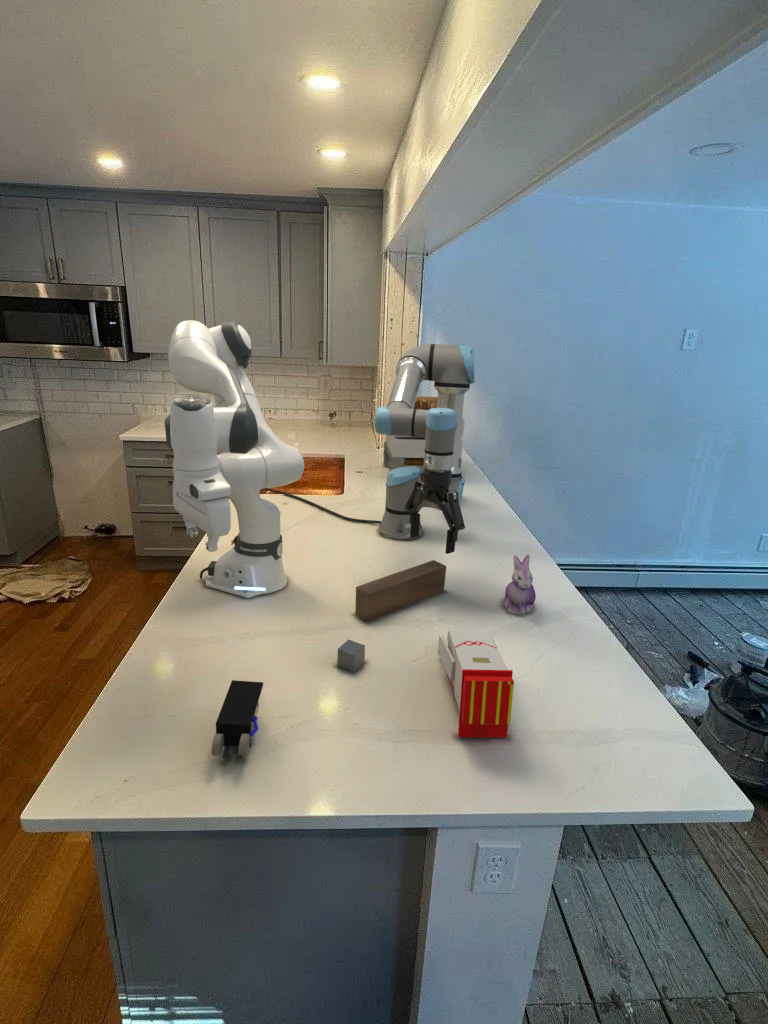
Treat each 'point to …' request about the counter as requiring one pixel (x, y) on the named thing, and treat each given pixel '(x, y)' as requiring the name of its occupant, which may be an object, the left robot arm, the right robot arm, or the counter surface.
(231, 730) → the black wheeled block
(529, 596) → the figurine
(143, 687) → the counter surface
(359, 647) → the slate block
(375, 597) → the walnut plank
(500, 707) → the toy
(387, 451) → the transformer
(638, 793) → the counter surface
